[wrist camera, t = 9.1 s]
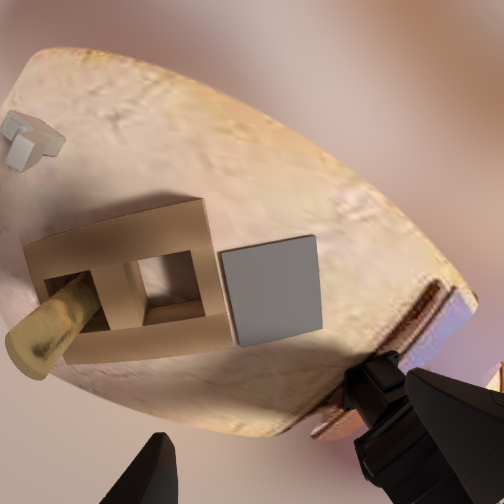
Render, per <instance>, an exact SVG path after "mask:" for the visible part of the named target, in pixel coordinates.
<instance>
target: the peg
mask: <svg viewBox="0 0 504 504" xmlns="http://www.w3.org/2000/svg"><path fill="white" fill-rule="evenodd" d="M100 307H101V302H100V299H99V296H98V293H97V290H96V287H95V284H94V280H93V277H92V274H91V271H86V272H83V273H81V274H80V275H78V276H77V277H76V278H74V279H73V280H72V281H70V282H69V283H68V284H67V285H65V286H64V287H63V288H61V289H60V290H59V291H57V292H56V293H55V294H54V295H52V296H51V297H50V298H49V299H47V300H46V301H45V302H44V303H42V304H41V305H40V306H39V307H38V308H36V309H35V310H34V311H33V312H32V313H30V314H29V315H28V316H27V317H26V318H24V319H23V320H22V321H21V322H20V323H19V324H17V325H16V326H15V327H14V328H13V329H12V330H11V331H10V332H8V333H7V335H6V338H5V345H6V349H7V352H8V354H9V356H10V358H11V360H12V361H13V363H14V364H15V366H16V367H17V368H18V369H19V370H20V371H21V372H22V373H24V374H25V375H26V376H28V377H29V378H31V379H34V380H43V379H45V378H46V376H47V375H48V373H49V372H50V371H51V369H52V368H53V366H54V365H55V364H56V362H57V361H58V360H59V358H60V357H61V356H62V354H63V353H64V352H65V350H66V349H67V348H68V346H69V345H70V344H71V342H72V341H73V340H74V339H75V337H76V336H77V335H78V334H79V332H80V331H81V330H82V329H83V327H84V326H85V325H86V324H87V322H88V321H89V320H90V319H91V317H92V316H93V315H94V314H95V313H96V311H97V310H98V309H99V308H100Z"/></svg>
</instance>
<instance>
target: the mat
mask: <svg viewBox="0 0 504 504" xmlns="http://www.w3.org/2000/svg"><path fill="white" fill-rule="evenodd" d="M221 254H222V259H223V265H224V270H225V275H226V280H227V285H228V290H229V294H230V299H231V304H232V309H233V314H234V318H235V323H236V328H237V332H238V337H239V341H240V346H241V348H242V347H247V346H252V345H257V344H261V343H266V342H271V341H275V340H280V339H284V338H288V337H292V336H296V335H300V334H304V333H308V332H312V331H316V330H319V329H323V326H322V307H321V292H320V278H319V266H318V255H317V245H316V236H315V235H313V236H307V237H302V238H297V239H291V240H286V241H280V242H275V243H270V244H264V245H259V246H254V247H248V248H243V249H238V250H232V251H227V252H222V253H221Z"/></svg>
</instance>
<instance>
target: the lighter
mask: <svg viewBox="0 0 504 504" xmlns="http://www.w3.org/2000/svg"><path fill="white" fill-rule="evenodd" d="M0 132H1V133H2V134H3V135H4V136H5V137H6V138H7V139H9V140H10V141H11V142H12V143H13V144H12V146H11V148H10V150H9V153H8V155H7V157H6V160H5V164H7V165H8V166H10V167H12V168H13V169H15V170H17V171H18V172H20V173H23V172H24V171H26V170H27V169H29V168H30V167H32V166H33V165H35V164H36V163H38V162H39V160H40V159H41V157H42V155H46V156H54V157H55V156H57V155H58V153H59V151H60V149H61V147H62V146H63V144H64V142H65V140H66V139H65V137H64V136H63V135H61V134H60V133H59V132H57V131H56V130H54V129H53V128H52V127H50V126H49V125H47V124H46V123H45V122H43V121H42V120H40V119H38V118H35V117H32V116H29V115H26V114H23V113H19V112H16V111H13V110H10V111H8V113H7V115H6V117H5V119H4V121H3V122H2V125H1V127H0Z"/></svg>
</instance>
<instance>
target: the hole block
mask: <svg viewBox="0 0 504 504" xmlns="http://www.w3.org/2000/svg"><path fill="white" fill-rule="evenodd" d="M23 250H24V254H25V258H26V261H27V265H28V268H29V272H30V275H31V278H32V281H33V285H34V288H35V291H36V293H37V296H38V299H39V302H40V305H41V304H42V303H44V302H45V301H46V300H47V299H49V298H50V297H51V296H52V295H54V294H55V293H56V292H57V291H59V290H60V289H61V288H63V287H64V286H65V285H67V283H66V280H65V277H64V275H68V274H73V273H78V272H82V271H87V270H91V274H92V277H93V280H94V284H95V287H96V290H97V293H98V296H99V299H100V302H101V305H102V307H103V310H104V313H105V315H99V316H92V317H91V319H90V320H89V321H88V322H87V324H86V325H85V326H84V327H83V329H82V330H81V331H80V332H79V334H78V335H77V336H76V337H75V339H74V340H73V341H72V342H71V344H70V345H69V346H68V348H67V349H66V350H65V352H64V353H63V354H62V355H63V357H64V359H65V361H66V363H67V365H68V364H97V363H113V362H126V361H138V360H148V359H157V358H165V357H173V356H181V355H188V354H194V353H201V352H207V351H213V350H219V349H225V348H230V347H233V346H232V338H231V331H230V325H229V320H228V316H227V312H226V307H225V302H224V298H223V293H222V288H221V284H220V279H219V274H218V269H217V264H216V259H215V254H214V249H213V244H212V239H211V234H210V229H209V223H208V218H207V213H206V207H205V201H204V199H199V200H194V201H189V202H184V203H179V204H174V205H169V206H165V207H160V208H156V209H151V210H147V211H143V212H138V213H134V214H130V215H126V216H122V217H118V218H114V219H110V220H106V221H102V222H99V223H95V224H91V225H87V226H84V227H80V228H77V229H73V230H70V231H66V232H63V233H60V234H56V235H53V236H50V237H46V238H43V239H41V240H38V241H35V242H33V243H30V244H28V245H25V246H23ZM186 250H190V251H191V256H192V260H193V265H194V269H195V273H196V278H197V282H198V286H199V290H200V295H201V299H200V300H195V301H189V302H183V303H177V304H172V305H166V306H159V307H153V308H151V307H150V304H149V301H148V297H147V294H146V291H145V287H144V284H143V280H142V277H141V273H140V269H139V265H138V262H137V260H141V259H146V258H151V257H156V256H161V255H166V254H171V253H176V252H181V251H186Z"/></svg>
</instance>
